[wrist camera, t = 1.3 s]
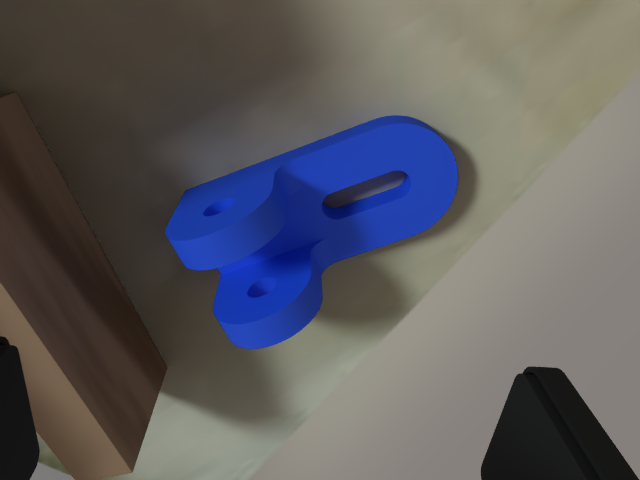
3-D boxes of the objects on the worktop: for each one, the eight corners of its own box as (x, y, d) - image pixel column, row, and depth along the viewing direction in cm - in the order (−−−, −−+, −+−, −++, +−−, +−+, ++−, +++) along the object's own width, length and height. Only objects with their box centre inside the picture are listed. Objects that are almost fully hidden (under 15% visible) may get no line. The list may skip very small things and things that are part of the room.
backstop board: (16, 91, 30) (-98, 141, 22) (167, 367, 42) (132, 472, 33) (-42, 108, 31) (-177, 162, 22) (123, 377, 42) (78, 483, 34)
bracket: (236, 281, 38) (220, 361, 30) (185, 189, 34) (152, 255, 26) (460, 204, 36) (506, 270, 28) (433, 96, 32) (477, 137, 24)
